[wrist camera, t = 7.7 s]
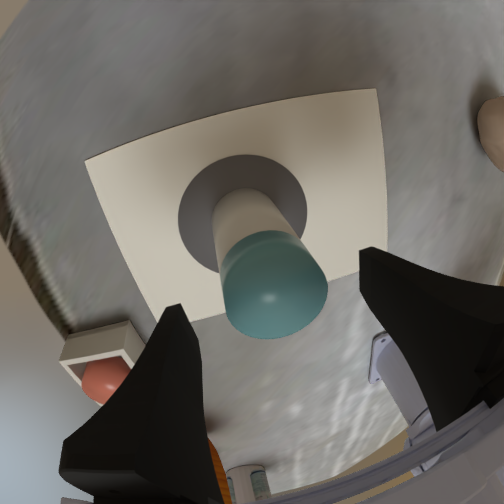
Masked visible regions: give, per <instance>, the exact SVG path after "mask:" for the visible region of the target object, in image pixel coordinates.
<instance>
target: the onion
mask: <svg viewBox="0 0 504 504" xmlns="http://www.w3.org/2000/svg"><path fill="white" fill-rule="evenodd" d="M477 124H478V130H479V134H480V142H481V145H482V147H483V149H484V150H485V152H486V153H487V155H488V156H489V158H490V160H491V161H492V162H493V164H494V165H495V166H496V167H497V168H498V169H499V170H501V171H502V172H504V96H501V97H497V98H495V99H489V100H486V101H485V102H484V103H483V105H482V107H481V108H480V110H479V112H478V117H477Z"/></svg>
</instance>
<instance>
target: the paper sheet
mask: <svg viewBox="0 0 504 504" xmlns="http://www.w3.org/2000/svg"><path fill="white" fill-rule="evenodd" d="M84 162H85V164H86V167H87V170H88V173H89V175H90V178H91V181H92V184H93V186H94V189H95V191H96V194H97V196H98V199H99V201H100V204H101V206H102V209H103V211H104V214H105V216H106V218H107V221H108V223H109V226H110V228H111V230H112V232H113V235H114V237H115V239H116V241H117V244H118V246H119V248H120V250H121V252H122V254H123V257H124V259H125V261H126V263H127V265H128V267H129V269H130V271H131V273H132V275H133V277H134V279H135V281H136V283H137V285H138V287H139V289H140V291H141V293H142V295H143V297H144V299H145V301H146V302H147V304H148V306H149V308H150V310H151V312H152V314H153V315H154V317H155V319H156V321H157V323H158V321H159V319H160V317H161V315H162V313H163V312H164V310H165V308H166V307H168V306H171V305H175V304H179V303H181V305H182V307H183V309H184V311H185V313H186V315H187V318H188V320H189V322H192V321H196V320H200V319H203V318H207V317H211V316H214V315H218V314H222V313H225V312H226V310H225V305H224V299H223V293H222V287H221V281H220V274H219V268H218V262H217V256H216V249H215V243H214V236H213V229H212V214H213V211H214V208H215V206H216V205H217V203H218V202H219V201H220V199H221V198H222V197H224V196H225V195H226V194H228V193H230V192H232V191H234V190H237V189H243V188H250V189H255V190H258V191H261V192H263V193H264V194H266V195H267V196H268V197H269V198H270V199H271V200H272V202H273V203H274V204H275V206H276V207H277V208H278V210H279V211H280V212H281V214H282V215H283V216H284V218H285V219H286V221H287V222H288V223H289V225H290V226H291V227H292V229H293V230H294V231H295V233H296V234H297V236H298V237H299V238H300V240H301V241H302V243H303V244H304V245H305V247H306V248H307V249H308V251H309V252H310V254H311V255H312V257H313V258H314V259H315V261H316V262H317V264H318V265H319V266H320V268H321V269H322V271H323V273H324V274H325V277H326V279H327V282H328V281H331V280H334V279H337V278H340V277H343V276H346V275H349V274H352V273H355V272H358V271H359V250H362V249H365V248H368V247H371V246H372V247H375V248H378V249H381V250H383V251H386V252H387V191H386V172H385V159H384V147H383V137H382V128H381V119H380V112H379V105H378V98H377V92H376V88H373V89H360V90H350V91H340V92H332V93H324V94H317V95H310V96H303V97H297V98H291V99H285V100H280V101H275V102H270V103H265V104H260V105H255V106H251V107H246V108H242V109H238V110H233V111H229V112H225V113H221V114H218V115H214V116H210V117H206V118H203V119H199V120H196V121H192V122H189V123H186V124H182V125H179V126H176V127H173V128H170V129H167V130H164V131H161V132H158V133H155V134H152V135H149V136H146V137H143V138H141V139H138V140H135V141H132V142H130V143H127V144H124V145H122V146H119V147H117V148H114V149H112V150H109V151H107V152H105V153H102V154H100V155H97V156H95V157H93V158H90V159H88V160H86V161H84Z"/></svg>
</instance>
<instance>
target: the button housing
mask: <svg viewBox="0 0 504 504" xmlns="http://www.w3.org/2000/svg"><path fill="white" fill-rule="evenodd" d="M144 348H145V344H144V343H143V341H142V339H141V338H140V336H139V335H138V333H137V332H136V330H135V328H134V327H133V325H132V324H131V322H130V320H127V321H123V322H119V323H115V324H111V325H107V326H103V327H99V328H95V329H91V330H86V331H82V332H78V333H74V334H69V335H68V337H67V340H66V343H65V345H64V348H63V351H62V354H61V356H60V359H59V362H60V364H61V365H62V366H63V367H64V368H65V369H66V371H67V372H68V373H69V374H70V375H71V376H72V377H73V378H74V379H75V381H76V382H77V383H78V384H79V385H80V386H81V387H82V385H81V383H82V379H83V375H84V371H85V367H86V364H87V362H88V361H93V360H99V359H104V358H109V357H114V356H117V357H120V358H122V359H124V360H125V361H126V363H127V364H128V365H129V367H130V368H131V369H132V368H133V366H134V365H135V363H136V361H137V360H138V358H139V356H140V355H141V353H142V351H143V349H144ZM95 402H96V401H95ZM96 403H98V402H96ZM98 405H100V406H103V404H101V403H98Z"/></svg>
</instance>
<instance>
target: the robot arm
mask: <svg viewBox="0 0 504 504" xmlns="http://www.w3.org/2000/svg"><path fill="white" fill-rule="evenodd" d="M359 281H360V292H361V294H362V296H363V298H364V299H365V301H366V303H367V305H368V306H369V308H370V310H371V311H372V313H373V314H374V315H375V317H376V318H377V319H378V321H379V322H380V323H381V325H382V326H383V327H384V329H385V330H386V331H387V333H385V334H383V335H381V336H378V337H376V338H375V339H374V341H373V348H372V358H371V366H370V374H369V383H370V384H373V383H375V382H378V381H380V380H383V382H384V383H385V385H386V387H387V389H388V390H389V392H390V394H391V395H392V397H393V399H394V401H395V402H396V404H397V406H398V408H399V409H400V411H401V413H402V415H403V416H404V418H405V420H406V422H407V423H408V425H409V428H408V429H407V430H406V432H407V434H408V436H409V437H408V438H407V439H406V440H405V443H404V450H403V451H402V452H399V453H398V454H395V455H393V456H391V457H389V458H387V459H385V460H383V461H380V462H378V463H376V464H374V465H371V466H369V467H367V468H365V469H362V470H359V471H357V472H355V473H352V474H349V475H347V476H344V477H341V478H338V479H335V480H333V481H330V482H327V483H324V484H321V485H318V486H314V487H311V488H308V489H304V490H301V491H297V492H293V493H290V494H285V495H281V496H277V497H273V498H268V499H263V500H258V501H253V502H248V503H242V504H333V503H336V502H338V501H341V500H344V499H347V498H350V497H352V496H355V495H357V494H360V493H363V492H365V491H367V490H370V489H372V488H374V487H377V486H379V485H381V484H384V483H386V482H388V481H390V480H392V479H394V478H396V477H398V476H400V475H402V474H404V473H406V472H408V471H411V472H412V473H413V475H414V477H413V478H411V479H409V480H407V481H405V482H403V483H401V484H399V485H397V486H395V487H393V488H391V489H388V490H386V491H384V492H382V493H380V494H377V495H375V496H373V497H370V498H368V499H366V500H364V501H361V502H358V503H356V504H504V287H503V286H494V285H486V284H480V283H475V282H470V281H465V280H461V279H457V278H454V277H450V276H447V275H444V274H441V273H438V272H435V271H432V270H429V269H427V268H424V267H421V266H419V265H416V264H414V263H411V262H409V261H407V260H404V259H402V258H400V257H397V256H395V255H393V254H390V253H388V252H386V251H383V250H381V249H378V248H375V247H372V246H371V247H368V248H365V249H362V250H359ZM59 474H60V476H61V477H62V478H63V479H64V480H65V481H66V482H68V483H70V484H72V485H73V486H75V487H77V488H79V489H80V490H82V491H84V492H86V493H88V494H90V495H93V496H94V503H92V502H88V501H83V500H77V499H69V498H64V497H62V498H61V504H225V503H224V500H223V497H222V494H221V490H220V487H219V484H218V480H217V476H216V473H215V469H214V465H213V460H212V456H211V451H210V447H209V442H208V437H207V431H206V425H205V419H204V410H203V385H202V360H201V353H200V347H199V341H198V338H197V336H196V334H195V332H194V330H193V328H192V326H191V324H190V322H189V320H188V318H187V315H186V313H185V311H184V309H183V307H182V305H181V303H179V304H175V305H171V306H168V307H166V308H165V310H164V312H163V313H162V315H161V317H160V319H159V321H158V323H157V325H156V327H155V329H154V331H153V333H152V335H151V337H150V338H149V340H148V342H147V344H146V346H145V348H144V349H143V351H142V353H141V355H140V356H139V358H138V360H137V361H136V363H135V365H134V366H133V368H132V369H131V371H130V372H129V374H128V375H127V376H126V378H125V379H124V381H123V382H122V383H121V385H120V386H119V387H118V388H117V390H116V391H115V392H114V393H113V394H112V396H111V397H110V398H109V399H108V400H107V401H106V403H105V404H104V405H103V406H102V407H101V408H100V409H99V410H98V411H97V412H96V413H95V414H94V415H93V416H92V417H91V418H90V419H89V420H88V421H87V422H86V423H85V424H84V425H83V426H81V427H80V428H79V429H78V430H76V431H75V432H74V433H73V434H71V435H70V436H69V437H68V438H66V439H65V440H64V441H63V447H62V452H61V459H60V465H59Z"/></svg>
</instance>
